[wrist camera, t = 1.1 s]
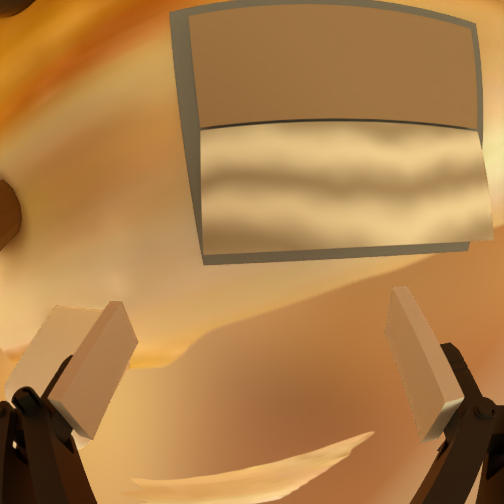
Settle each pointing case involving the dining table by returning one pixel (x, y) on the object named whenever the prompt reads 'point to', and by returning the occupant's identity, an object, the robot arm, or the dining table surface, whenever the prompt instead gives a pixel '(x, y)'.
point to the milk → (52, 353)
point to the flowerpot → (8, 214)
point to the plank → (341, 186)
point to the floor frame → (321, 80)
